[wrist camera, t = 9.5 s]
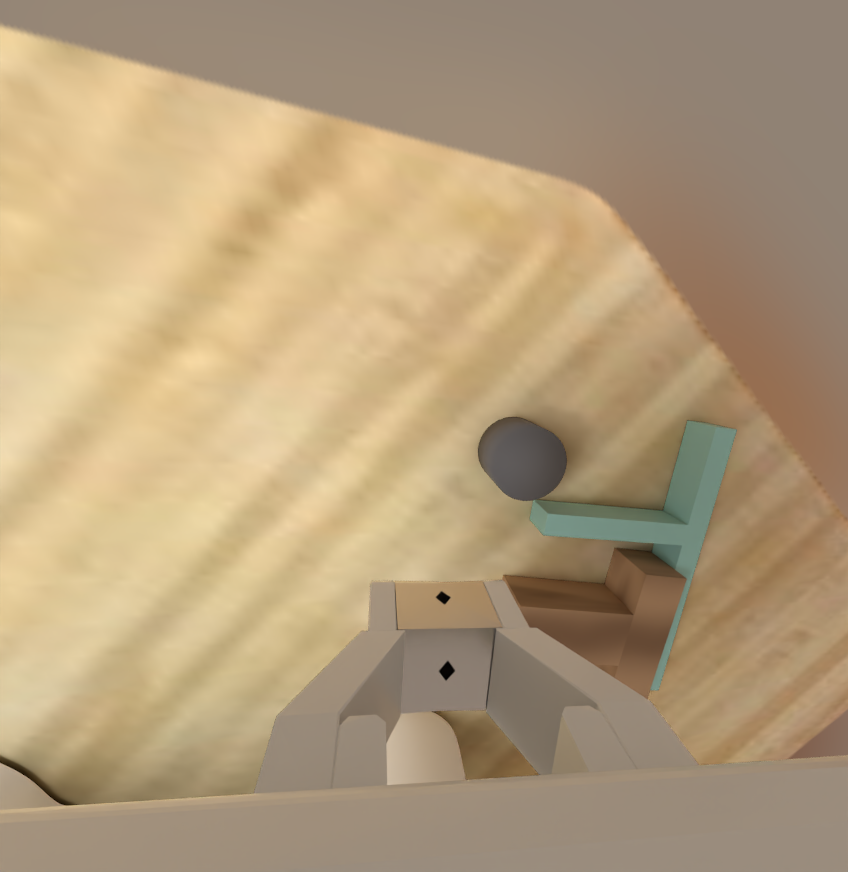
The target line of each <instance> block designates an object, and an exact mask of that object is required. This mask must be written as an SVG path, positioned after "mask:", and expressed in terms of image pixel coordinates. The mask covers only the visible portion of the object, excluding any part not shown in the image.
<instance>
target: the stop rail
mask: <svg viewBox="0 0 848 872" xmlns="http://www.w3.org/2000/svg"><path fill="white" fill-rule="evenodd" d="M736 432H737V430H736V429H732V428H728V427H723V426H719V425H715V424H710V423H705V422H697V421H687V424H686V428H685V432H684V435H683V439H682V443H681V446H680V450H679V454H678V457H677V461H676V465H675V468H674V472H673V476H672V479H671V483H670V487H669V490H668V494H667V498H666V501H665V505H664V509H663V511H661V510H650V509H638V508H626V507H615V506H603V505H591V504H580V503H568V502H556V501H545V500H533V505H532V510H531V515H530V521H531V522H532V523H533V524H534V525H535V526H536V527H537V529H538V530H539V531H540V532H541V533H542V534H543V535H546V536H560V537H573V538H587V539H601V540H614V541H628V542H642V543H654V545H653V549H652V553H653V554H655V555H656V556H657V557H659V558H660V559H661V560H663V561H664V562H665V563H667V564H668V565H669V566H671V567H672V568H673V569H675V570H676V571H677V572H679V573H680V574H681V575H683V576H684V577H685V578H687V580H686V583H685V586H684V589H683V592H682V595H681V598H680V601H679V604H678V607H677V610H676V613H675V617H674V620H673V623H672V626H671V629H670V632H669V635H668V638H667V641H666V644H665V647H664V650H663V653H662V656H661V659H660V662H659V665H658V668H657V671H656V674H655V677H654V680H653V683H652V686H651V689H650V690H659V687H660V684H661V681H662V677H663V674H664V671H665V667H666V664H667V661H668V657H669V654H670V651H671V647H672V644H673V641H674V637H675V634H676V631H677V627H678V624H679V621H680V618H681V614H682V611H683V608H684V604H685V601H686V598H687V594H688V591H689V588H690V584H691V581H692V578H693V574H694V571H695V568H696V564H697V561H698V558H699V554H700V551H701V548H702V544H703V541H704V538H705V535H706V531H707V528H708V525H709V521H710V518H711V515H712V511H713V508H714V505H715V501H716V498H717V495H718V491H719V488H720V485H721V481H722V478H723V475H724V471H725V468H726V465H727V462H728V458H729V455H730V452H731V448H732V445H733V442H734V438H735V435H736Z"/></svg>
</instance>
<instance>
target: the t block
mask: <svg viewBox="0 0 848 872" xmlns="http://www.w3.org/2000/svg"><path fill="white" fill-rule="evenodd" d="M686 580H687V578H685V577H684V576H683V575H681V574H680V573H679V572H677V571H676V570H675V569H673V568H672V567H671V566H669V565H668V564H667V563H665V562H664V561H663V560H661V559H660V558H659V557H657V556H656V555H655V554H653V553H652V552H649V551H639V550H630V549H620V548H614V552H613V555H612V559H611V562H610V566H609V569H608V573H607V576H606V580H605V583H604V584H598V583H587V582H576V581H565V580H553V579H542V578H531V577H520V576H509V575H503V581H504V582H505V583H506V585H507V586H508V588H509V590H510V592H511V594H512V596H513V598H514V599H515V601H516V603H517V605H518V607H519V609H520V611H521V612H522V614H523V616H524V618H525V620H526V622H527V624H528V625H529V627H530V628H538V629H539V630H541V631H542V632H544V633H545V634H547V635H549V636H550V637H552V638H553V639H555V640H556V641H558V642H559V643H561V644H563V645H564V646H566V647H567V648H569V649H570V650H572V651H573V652H575V653H576V654H578V655H580V656H581V657H583V658H584V659H586V660H587V661H589V662H590V663H592V664H594V665H595V666H597V667H598V668H600V669H601V670H603V671H604V672H606V673H608V674H609V675H611V676H612V677H614V678H615V679H617V680H618V681H620V682H621V683H623V684H625V685H626V686H628V687H629V688H631V689H632V690H634V691H635V692H637V693H639V694H640V695H642V696H643V697H645V698H646V699H647V698H648V695H649V692H650V689H651V686H652V683H653V680H654V677H655V674H656V671H657V668H658V665H659V662H660V659H661V656H662V653H663V650H664V647H665V644H666V641H667V638H668V635H669V632H670V629H671V626H672V623H673V620H674V617H675V613H676V610H677V607H678V604H679V601H680V598H681V595H682V592H683V589H684V586H685V583H686Z"/></svg>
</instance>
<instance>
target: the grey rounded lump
mask: <svg viewBox="0 0 848 872" xmlns="http://www.w3.org/2000/svg"><path fill="white" fill-rule="evenodd" d="M478 457H479V461H480V464H481V466H482V468H483V469H484V471H485V472H486V473H487V474H488V475H489V476H490V478H491V479H492V480H493V481H494V482H495V483H496V485H497V486H498V487H499V488H500V489H501V490H502V491H503V492H504V493H505V494H506V495H508V496H509V497H511V498H514V499H517V500H522V501H530V500H536V499H539V498H542V497H544V496H546V495H547V494H549V493H550V492H551V491H553V490H554V489H555V488H556V487H557V485H558V484H559V483H560V481H561V479H562V478H563V475H564V473H565V469H566V463H567V458H566V452H565V449H564V446H563V444H562V443H561V441H560V440H559V438H558V437H557V436H556V435H554V434H553V433H552V432H550V431H548V430H546V429H544V428H542V427H540V426H538V425H536V424H534V423H531V422H529V421H527V420H525V419H523V418H518V417H508V418H503V419H501V420H498V421H496V422H495V423H493V424H492V425H491V426H490V427H488V429H487V430H486V431H485V432H484V434H483V435H482V437H481V440H480V442H479V447H478Z"/></svg>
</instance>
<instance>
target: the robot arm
mask: <svg viewBox="0 0 848 872" xmlns="http://www.w3.org/2000/svg"><path fill="white" fill-rule="evenodd" d="M443 710H444V711H452V710H486V713H487V714H488V715H489V716H490V717H491V719H492V720H493V721H494V722H495V723H496V724H497V726H498V727H499V728H500V729H501V730H502V731H503V733H504V734H505V735H506V736H507V737H508V738H509V740H510V741H511V742H512V743H513V744H514V745H515V747H516V748H517V749H518V750H519V751H520V753H521V754H522V755H523V756H524V757H525V758H526V760H527V761H528V762H529V763H530V764H531V765H532V767H533V768H534V769H535V770H536V771H537V772H538V774H539V775H533V776H518V777H503V778H488V779H472V780H457V781H442V782H426V783H411V784H396V785H387V751H386V743H387V741H388V739H389V737H390V735H391V733H392V732H393V730H394V728H395V726H396V724H397V722H398V720H399V718H400V714H405V713H418V712H431V711H443ZM0 872H848V755H845V756H829V757H815V758H800V759H785V760H770V761H756V762H741V763H726V764H710V765H699V764H698V763H697V762H696V760H695V759H694V758H693V756H692V755H691V754H690V753H689V751H688V750H687V749H686V747H685V746H684V745H683V743H682V742H681V741H680V739H679V738H678V737H677V735H676V734H675V733H674V731H673V730H672V729H671V727H670V726H669V725H668V724H667V722H666V721H665V720H664V718H663V717H662V716H661V714H660V713H659V712H658V710H657V709H656V708H655V706H654V705H653V704H652V702H651V701H649V700H648V699H646V698H645V697H643V696H642V695H640V694H639V693H637V692H635V691H634V690H632V689H631V688H629V687H628V686H626V685H625V684H623V683H621V682H620V681H618V680H617V679H615V678H614V677H612V676H611V675H609V674H608V673H606V672H604V671H603V670H601V669H600V668H598V667H597V666H595V665H594V664H592V663H590V662H589V661H587V660H586V659H584V658H583V657H581V656H580V655H578V654H576V653H575V652H573V651H572V650H570V649H569V648H567V647H566V646H564V645H563V644H561V643H559V642H558V641H556V640H555V639H553V638H552V637H550V636H549V635H547V634H545V633H544V632H542V631H541V630H539V629H538V628H530V627H529V625H528V624H527V622H526V620H525V618H524V616H523V614H522V612H521V611H520V609H519V607H518V605H517V603H516V601H515V599H514V598H513V596H512V594H511V592H510V590H509V588H508V586H507V585H506V583H505V582H504V581H503V580H488V581H464V582H436V581H371V584H370V601H369V621H368V631H361V632H360V633H359V634H358V635H357V636H356V637H355V638H354V639H353V640H352V641H351V642H350V643H349V644H348V645H347V646H346V647H345V648H344V649H343V650H342V651H341V652H340V653H339V654H338V655H337V656H336V657H335V658H334V659H333V660H332V661H331V662H330V663H329V664H328V665H327V666H326V667H325V668H324V669H323V670H322V671H321V672H320V673H319V674H318V675H317V676H316V677H315V678H314V679H313V680H312V681H311V682H310V683H309V684H308V685H307V686H306V687H305V688H304V689H303V690H302V691H301V692H300V693H299V694H298V695H297V696H296V697H295V698H294V699H293V700H292V701H291V702H290V703H289V704H288V705H287V706H286V707H285V708H284V709H283V710H282V711H281V712H280V713H279V714H278V715H277V716H276V719H275V723H274V726H273V730H272V733H271V736H270V740H269V743H268V747H267V750H266V753H265V757H264V760H263V764H262V767H261V770H260V774H259V777H258V781H257V784H256V787H255V791H254V794H241V795H225V796H210V797H194V798H179V799H163V800H147V801H132V802H116V803H101V804H85V805H70V806H65V805H62V804H59V803H58V802H56V801H55V800H53V799H52V798H51V797H50V796H48V795H47V794H46V793H45V792H44V791H43V790H42V789H41V788H40V787H39V786H38V785H36V784H35V783H34V782H33V781H31V780H30V779H29V778H27V777H26V776H24V775H23V774H21V773H19V772H18V771H16V770H14V769H12V768H10V767H8V766H6V765H3V764H1V763H0Z"/></svg>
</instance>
